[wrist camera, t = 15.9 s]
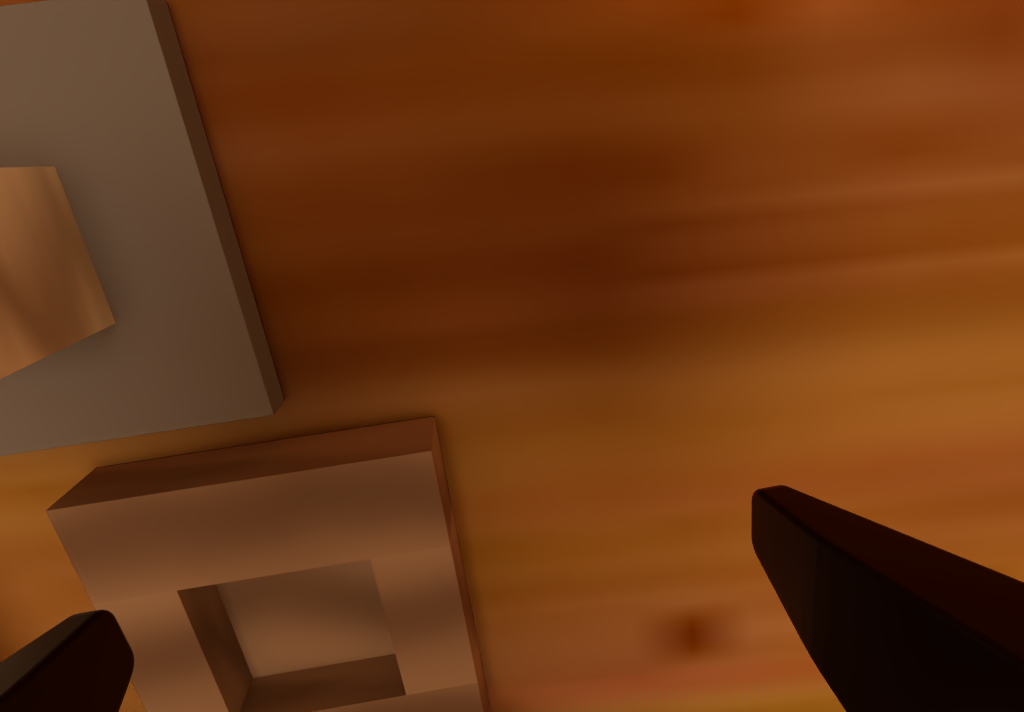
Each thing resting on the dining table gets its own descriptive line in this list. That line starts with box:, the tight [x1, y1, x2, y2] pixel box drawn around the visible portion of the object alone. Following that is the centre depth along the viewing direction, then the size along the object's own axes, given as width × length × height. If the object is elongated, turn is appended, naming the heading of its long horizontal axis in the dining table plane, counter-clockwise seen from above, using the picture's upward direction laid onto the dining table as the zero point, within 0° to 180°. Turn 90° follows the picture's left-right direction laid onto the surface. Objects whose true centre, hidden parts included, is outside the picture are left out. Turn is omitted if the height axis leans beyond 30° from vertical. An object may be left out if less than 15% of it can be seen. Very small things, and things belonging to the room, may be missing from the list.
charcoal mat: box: [0, 0, 284, 456], centre depth 16 cm, size 12×12×1 cm
